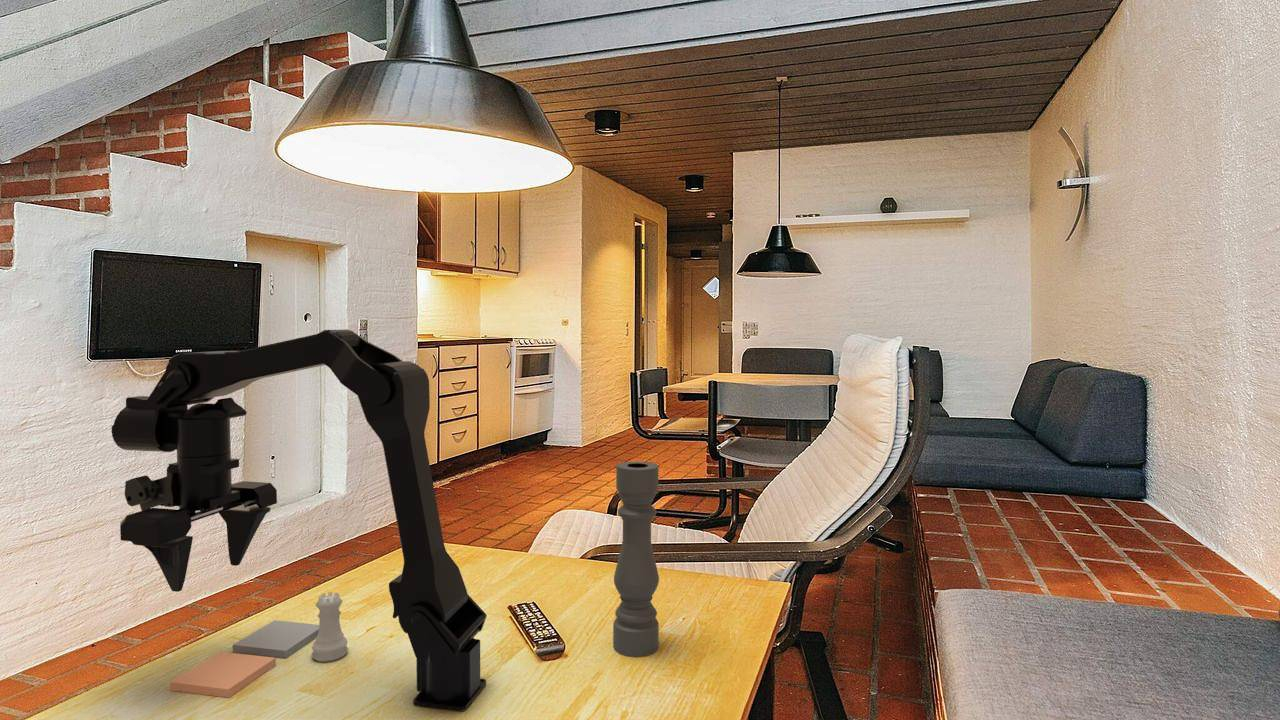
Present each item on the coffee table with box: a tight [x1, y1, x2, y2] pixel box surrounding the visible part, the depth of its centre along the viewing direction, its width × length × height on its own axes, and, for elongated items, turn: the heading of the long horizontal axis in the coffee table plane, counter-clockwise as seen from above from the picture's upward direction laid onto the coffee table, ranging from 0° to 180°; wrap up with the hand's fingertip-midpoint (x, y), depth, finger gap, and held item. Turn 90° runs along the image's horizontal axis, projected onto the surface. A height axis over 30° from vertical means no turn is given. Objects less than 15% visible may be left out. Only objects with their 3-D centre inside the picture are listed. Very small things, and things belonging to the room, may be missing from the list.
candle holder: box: [612, 460, 660, 658], centre depth 97 cm, size 6×6×25 cm
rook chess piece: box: [311, 592, 349, 663], centre depth 94 cm, size 4×4×8 cm
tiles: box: [169, 619, 319, 698], centre depth 93 cm, size 8×18×1 cm, turn 169°
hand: (207, 577), depth 89 cm, fingers open, 9 cm apart
